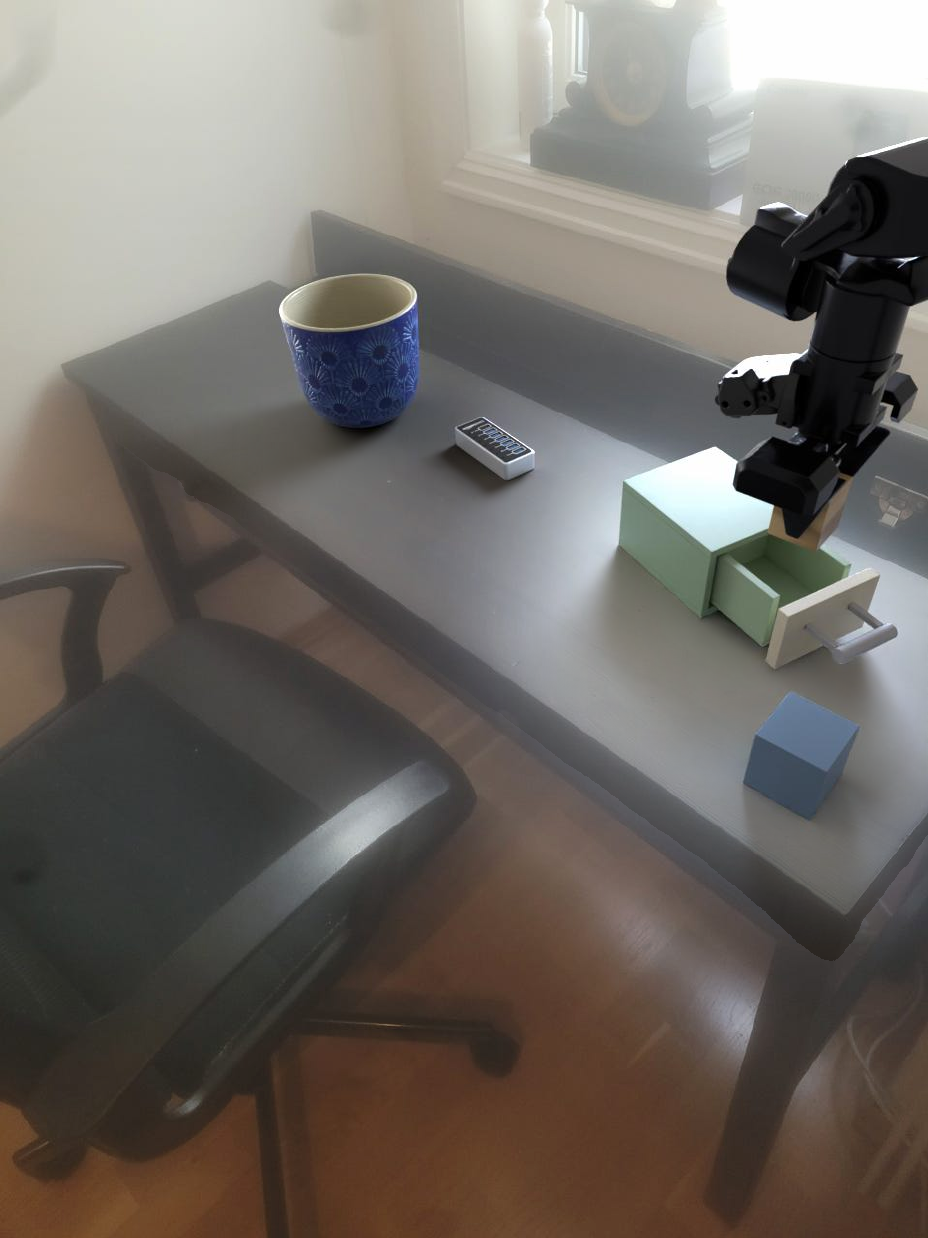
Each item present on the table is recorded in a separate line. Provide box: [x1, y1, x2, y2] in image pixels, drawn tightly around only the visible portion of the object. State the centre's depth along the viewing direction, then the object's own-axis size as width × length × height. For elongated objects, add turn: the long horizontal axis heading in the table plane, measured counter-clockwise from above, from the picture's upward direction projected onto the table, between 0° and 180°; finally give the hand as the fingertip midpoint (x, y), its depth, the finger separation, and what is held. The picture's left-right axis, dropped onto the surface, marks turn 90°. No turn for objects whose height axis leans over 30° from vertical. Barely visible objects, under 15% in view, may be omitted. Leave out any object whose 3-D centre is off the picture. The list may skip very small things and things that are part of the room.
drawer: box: [709, 534, 899, 670], centre depth 78 cm, size 17×10×6 cm, turn 28°
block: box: [768, 473, 854, 552], centre depth 70 cm, size 4×4×5 cm
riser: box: [742, 691, 861, 821], centre depth 67 cm, size 6×6×6 cm
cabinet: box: [618, 446, 774, 619], centre depth 86 cm, size 14×12×8 cm
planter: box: [278, 273, 420, 429], centre depth 111 cm, size 17×17×15 cm
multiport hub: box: [454, 416, 535, 481], centre depth 105 cm, size 4×11×2 cm, turn 35°
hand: (805, 522), depth 71 cm, fingers closed on block, 4 cm apart
